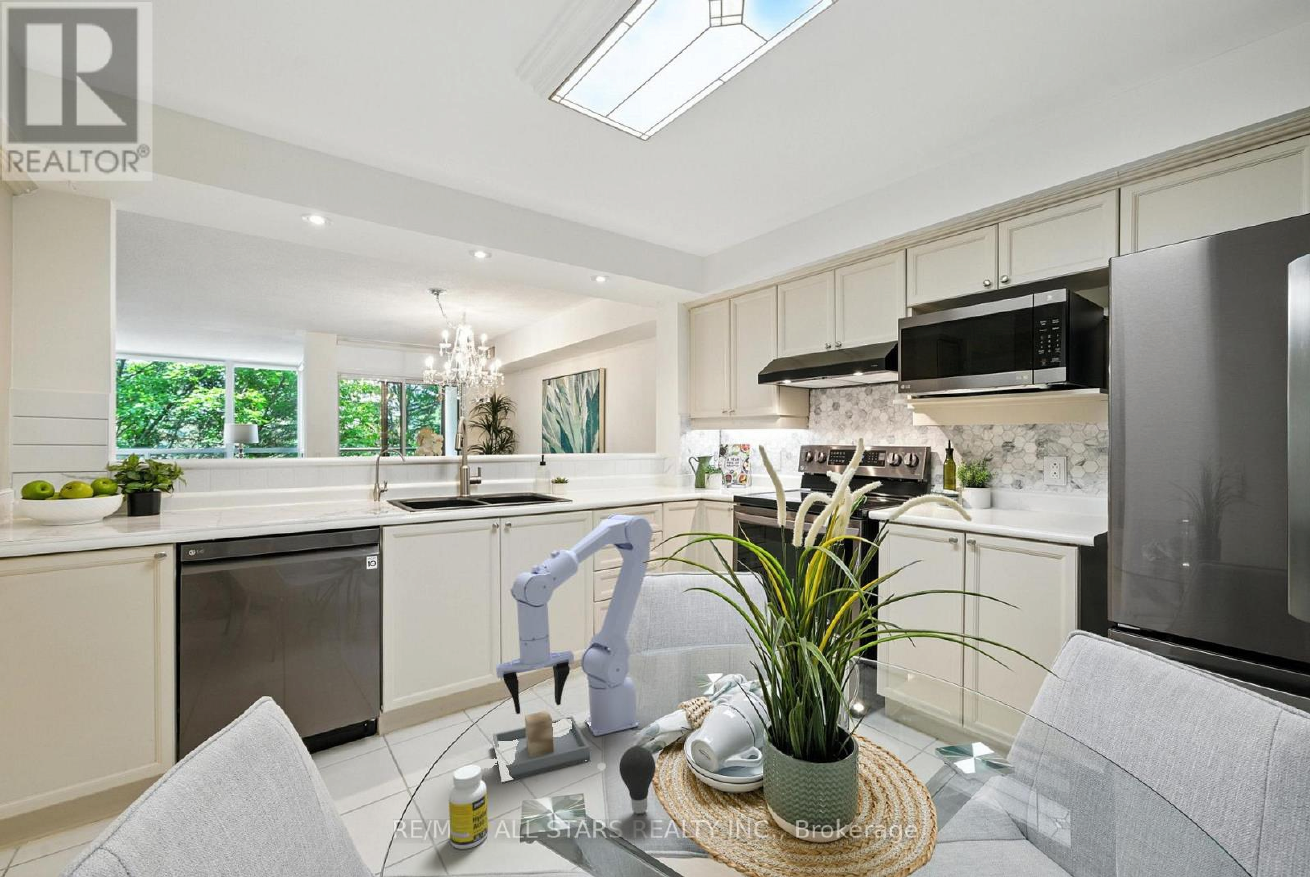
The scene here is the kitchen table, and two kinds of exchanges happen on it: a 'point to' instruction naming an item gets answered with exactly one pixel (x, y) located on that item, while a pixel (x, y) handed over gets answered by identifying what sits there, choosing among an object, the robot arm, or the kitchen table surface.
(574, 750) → the tray
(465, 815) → the supplement bottle
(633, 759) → the light bulb
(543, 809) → the kitchen table surface
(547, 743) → the oak block
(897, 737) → the kitchen table surface
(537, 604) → the robot arm
